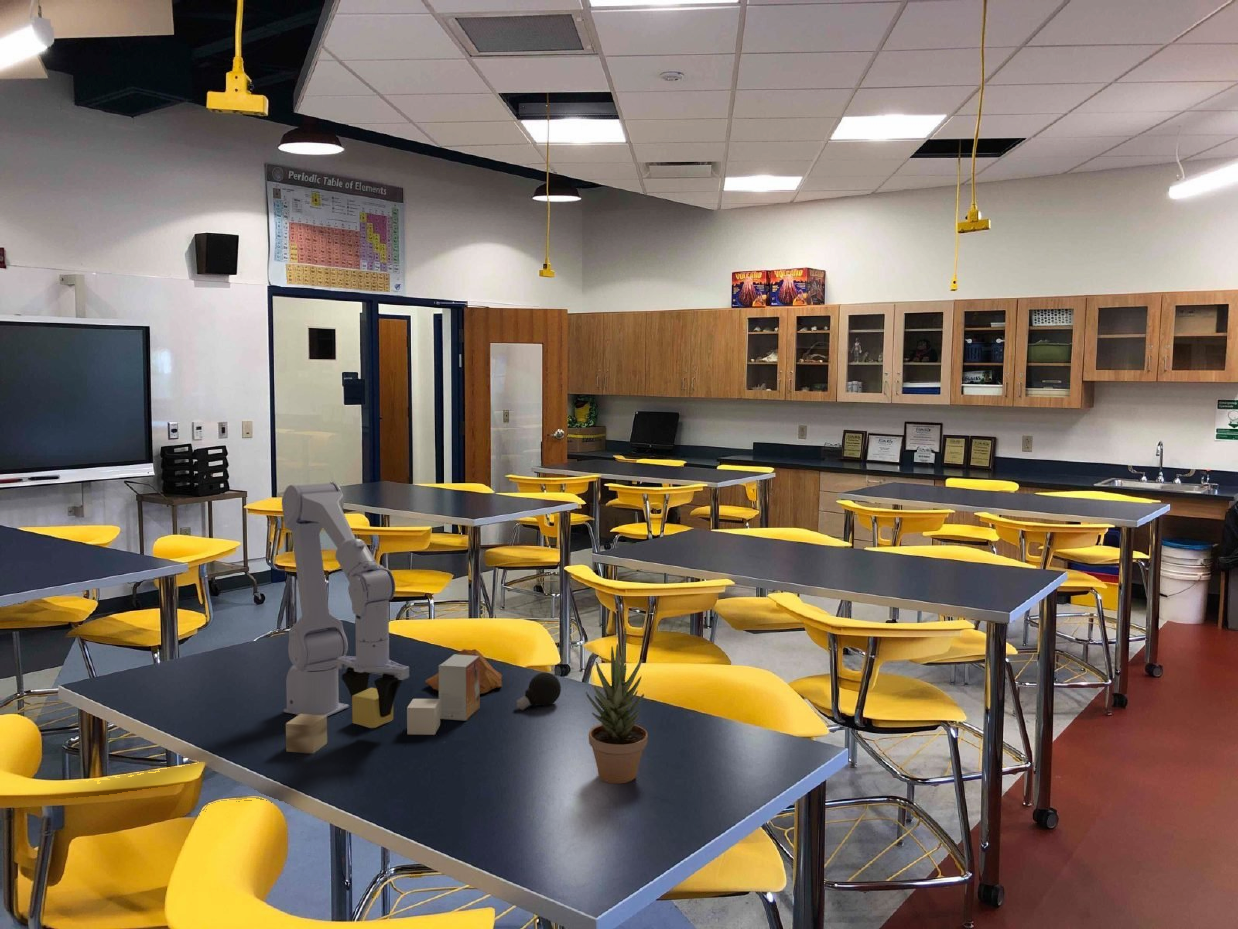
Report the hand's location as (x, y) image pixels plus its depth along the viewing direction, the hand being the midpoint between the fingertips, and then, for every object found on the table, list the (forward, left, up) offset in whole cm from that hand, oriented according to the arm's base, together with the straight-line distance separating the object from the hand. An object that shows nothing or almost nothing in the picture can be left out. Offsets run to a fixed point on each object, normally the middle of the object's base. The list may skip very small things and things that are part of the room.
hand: (373, 712), depth 169 cm
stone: (-2, +32, -5) cm, 33 cm away
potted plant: (+46, +5, -5) cm, 47 cm away
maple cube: (-8, -8, -5) cm, 12 cm away
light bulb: (+18, +29, -5) cm, 34 cm away
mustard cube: (0, 0, -2) cm, 2 cm away
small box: (+6, +18, -5) cm, 20 cm away
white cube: (+5, +8, -5) cm, 11 cm away
